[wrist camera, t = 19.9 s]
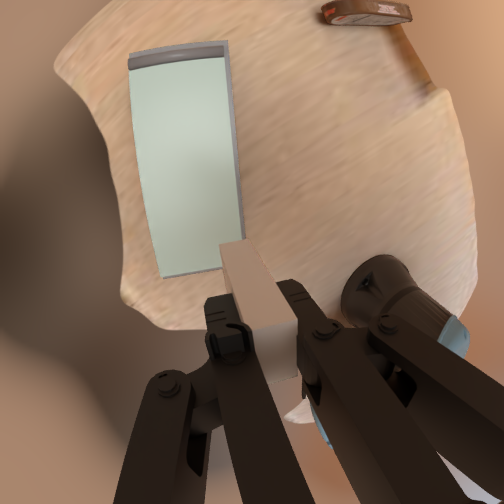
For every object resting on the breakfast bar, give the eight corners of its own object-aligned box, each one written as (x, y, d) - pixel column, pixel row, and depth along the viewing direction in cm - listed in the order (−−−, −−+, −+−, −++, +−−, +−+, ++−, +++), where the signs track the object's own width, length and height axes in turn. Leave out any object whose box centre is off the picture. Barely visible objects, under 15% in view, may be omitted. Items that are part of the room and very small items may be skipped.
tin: (385, 14, 28) (418, 3, 20) (391, 30, 29) (425, 20, 22) (310, 12, 26) (339, -9, 19) (317, 29, 28) (348, 11, 20)
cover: (242, 258, 31) (244, 263, 30) (161, 272, 29) (160, 278, 28) (221, 47, 22) (223, 43, 20) (130, 60, 20) (127, 57, 19)
